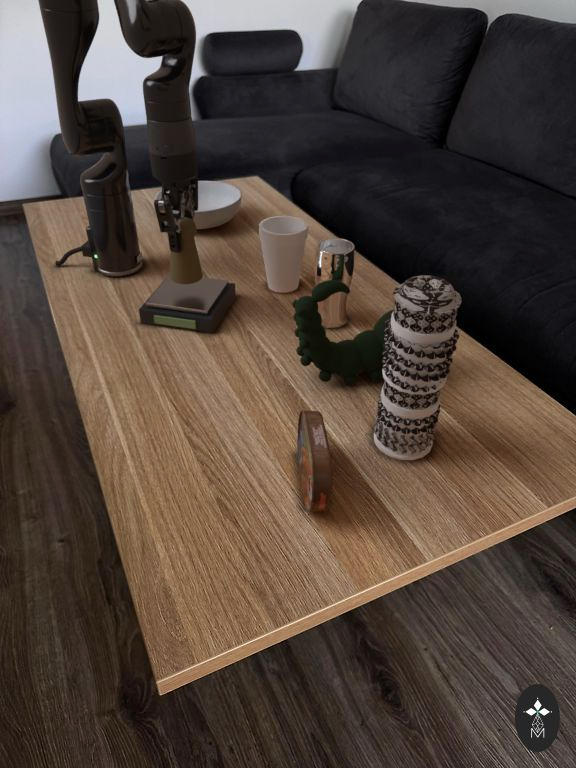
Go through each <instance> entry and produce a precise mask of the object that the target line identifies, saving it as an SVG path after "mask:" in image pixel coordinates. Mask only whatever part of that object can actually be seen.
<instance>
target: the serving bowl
mask: <svg viewBox="0 0 576 768" xmlns="http://www.w3.org/2000/svg"><path fill="white" fill-rule="evenodd" d="M242 196H243V195H242V192H241V190H240V189H239V188H238V187H236V186H234V185H233V184H230V183H226V182H221V181H215V180H213V181H212V180H198V210H197V211H195V217H194V218H193V220H194V223H195V225H196V230H205V229H212V228H216V227H219V226H222V225H224V224H225V223H228V222H229V221H230V220H232V219H233V218H234V217H235V216H236V214H237V213H238V212H239V210H240V207H241V203H242ZM161 198H162V189H161V190H160V191H158V192H157V194H155V197H154V201H155V200H160V199H161ZM178 212H179V211H174V210H173V213H178Z"/></svg>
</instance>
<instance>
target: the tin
mask: <svg viewBox="0 0 576 768" xmlns="http://www.w3.org/2000/svg"><path fill="white" fill-rule="evenodd" d="M296 439H297V442H296V443H297V444H296V448H297V449H296V451H297V461H298V468H299V470H298V471H299V475H300V484H301V490H302V497H303V503H304V507H305V511H306V512H307V513H310V512H326V511H328V510H329V509H330V502H331V501H330V500H331V495H332V491H333V487H334V486H333V484H334V473H333V472H334V471H333V461H332V454H331V449H330V445H329V439H328V434H327V430H326V425H325V422H324V417H323V414H322V413H321V411H318V410H303V409H301V410H300V411H299V414H298V421H297V438H296Z"/></svg>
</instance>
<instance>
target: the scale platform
mask: <svg viewBox="0 0 576 768" xmlns="http://www.w3.org/2000/svg"><path fill="white" fill-rule="evenodd" d="M168 275H169V276H168ZM168 275H167V276H168V277H167V276H166V277H165V279H166V280H165V279H164V280H165V281H164V280H163V281H164V282H163V281H162V282H163V283H162V282H161V283H162V284H161V283H160V284H159V286H158V287H159V288H158V287H157V288H158V289H157V288H156V289H157V290H156V289H155V290H156V291H155V290H154V291H155V292H154V291H153V293H152V294H153V295H152V294H151V295H152V296H151V295H150V296H151V297H150V296H149V297H150V298H149V297H148V298H149V299H148V298H147V299H146V300H145V302H146V306H147V307H155V308H162V309H170V310H177V311H184V312H192V313H199V314H206V315H208V314H209V312H210V311H211V309H212V308H213V306H214V305H215V303H216V302H217V300H218V299H219V297H220V296H221V294H222V293H223V291H224V290H225V288H226V287H227V286H228V284H229V283H230V282H229V280H227V279H220V278H212V277H203V278H202V279H201V280H200V281H198V282H196V283H192V284H177V283H174V282H173V281H171V279H170V274H168Z"/></svg>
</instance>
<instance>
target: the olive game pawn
mask: <svg viewBox="0 0 576 768" xmlns="http://www.w3.org/2000/svg"><path fill="white" fill-rule="evenodd" d="M174 220H175V224H176V219H175V218H174ZM166 233H167V232H166ZM181 234H182V243H183V251H182V252H181V253H177V252H171V251H170V262H169V275H170V279H171V281H173V282H174V283H177V284H192V283H196V282H198V281H200V280H201V279H202V278H203V276H204V273H203V270H202V266H201V261H200V257H199V252H198V248H197V244H196V239H195V237H196V234H197V229H196V225H195V223H194V221H193V220H192V219H190V218H187V217H184V218H183V219H181ZM167 235H168V233H167Z"/></svg>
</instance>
